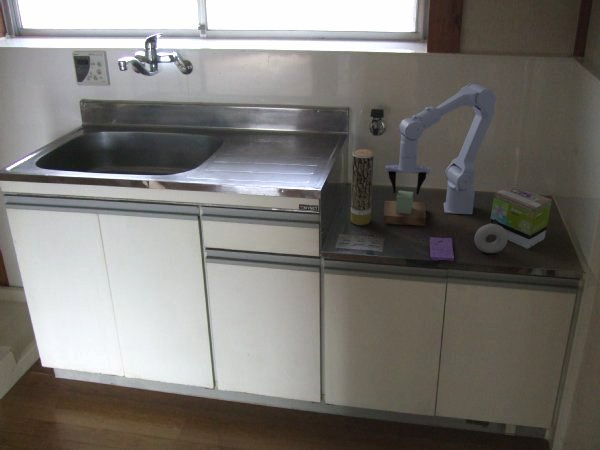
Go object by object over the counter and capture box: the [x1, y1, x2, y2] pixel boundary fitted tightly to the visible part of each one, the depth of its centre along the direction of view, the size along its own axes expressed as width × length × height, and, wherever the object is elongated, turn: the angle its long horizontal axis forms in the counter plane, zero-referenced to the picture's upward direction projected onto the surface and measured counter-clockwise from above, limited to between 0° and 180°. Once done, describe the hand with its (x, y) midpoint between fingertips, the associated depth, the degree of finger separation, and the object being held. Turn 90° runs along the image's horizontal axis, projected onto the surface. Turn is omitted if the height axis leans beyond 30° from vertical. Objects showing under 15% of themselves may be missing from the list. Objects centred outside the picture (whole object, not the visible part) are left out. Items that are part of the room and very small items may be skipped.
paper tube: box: [350, 148, 374, 226], centre depth 213 cm, size 7×7×25 cm
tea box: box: [489, 184, 553, 250], centre depth 205 cm, size 15×10×15 cm
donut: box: [474, 223, 509, 254], centre depth 197 cm, size 10×4×10 cm, turn 82°
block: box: [395, 190, 414, 214], centre depth 218 cm, size 5×5×6 cm
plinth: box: [382, 200, 427, 227], centre depth 221 cm, size 14×12×3 cm
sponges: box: [429, 236, 455, 261], centre depth 201 cm, size 7×13×2 cm, turn 171°
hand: (405, 192), depth 218 cm, fingers open, 7 cm apart
